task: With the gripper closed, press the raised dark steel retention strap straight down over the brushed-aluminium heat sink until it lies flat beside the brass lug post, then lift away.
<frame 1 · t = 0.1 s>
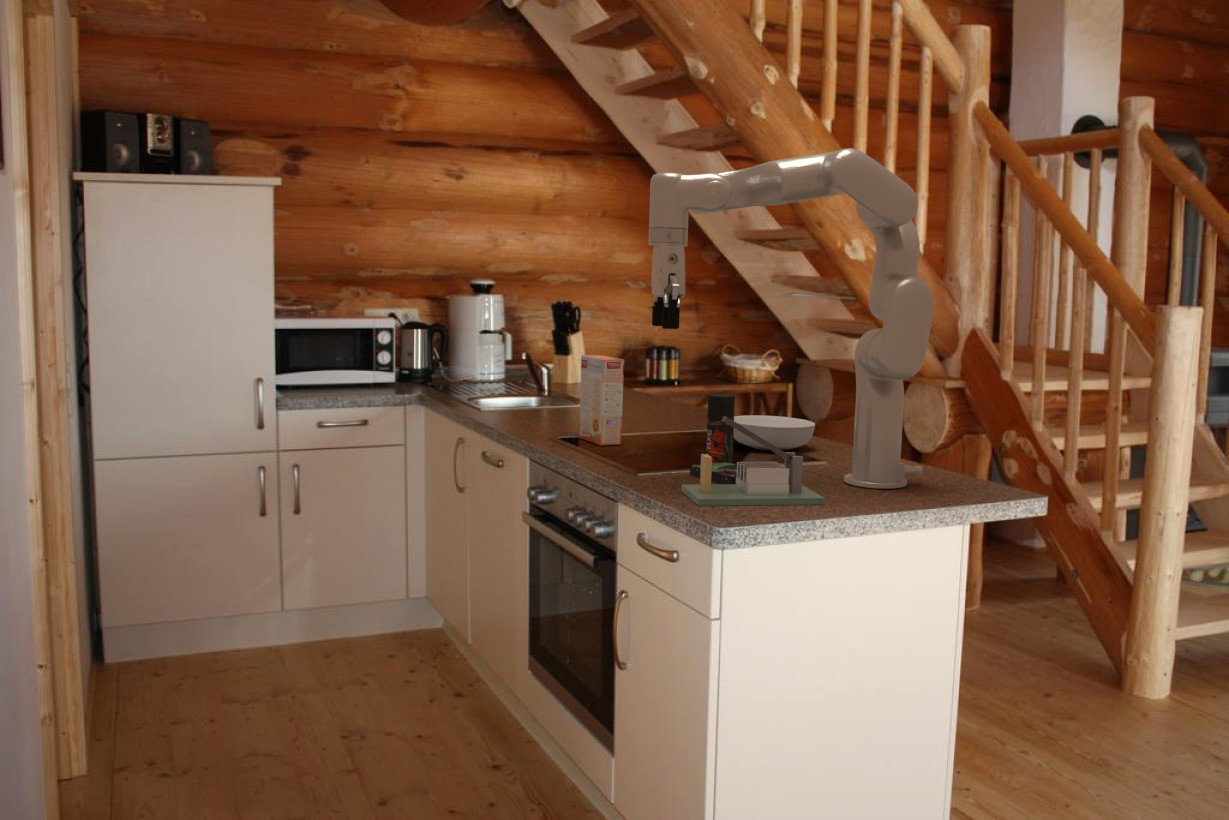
hand: (665, 327, 227), 31 cm above the worktop, fingers open, 9 cm apart
deodorant: (719, 463, 260), on the worktop
serving bowl: (770, 449, 283), on the worktop
disk drive: (729, 482, 240), on the worktop
board: (751, 497, 221), on the worktop
strap: (761, 441, 220), point 11 cm above the worktop, hinge at 30.0°
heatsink: (761, 497, 221), resting on board
cracker box: (600, 442, 285), on the worktop
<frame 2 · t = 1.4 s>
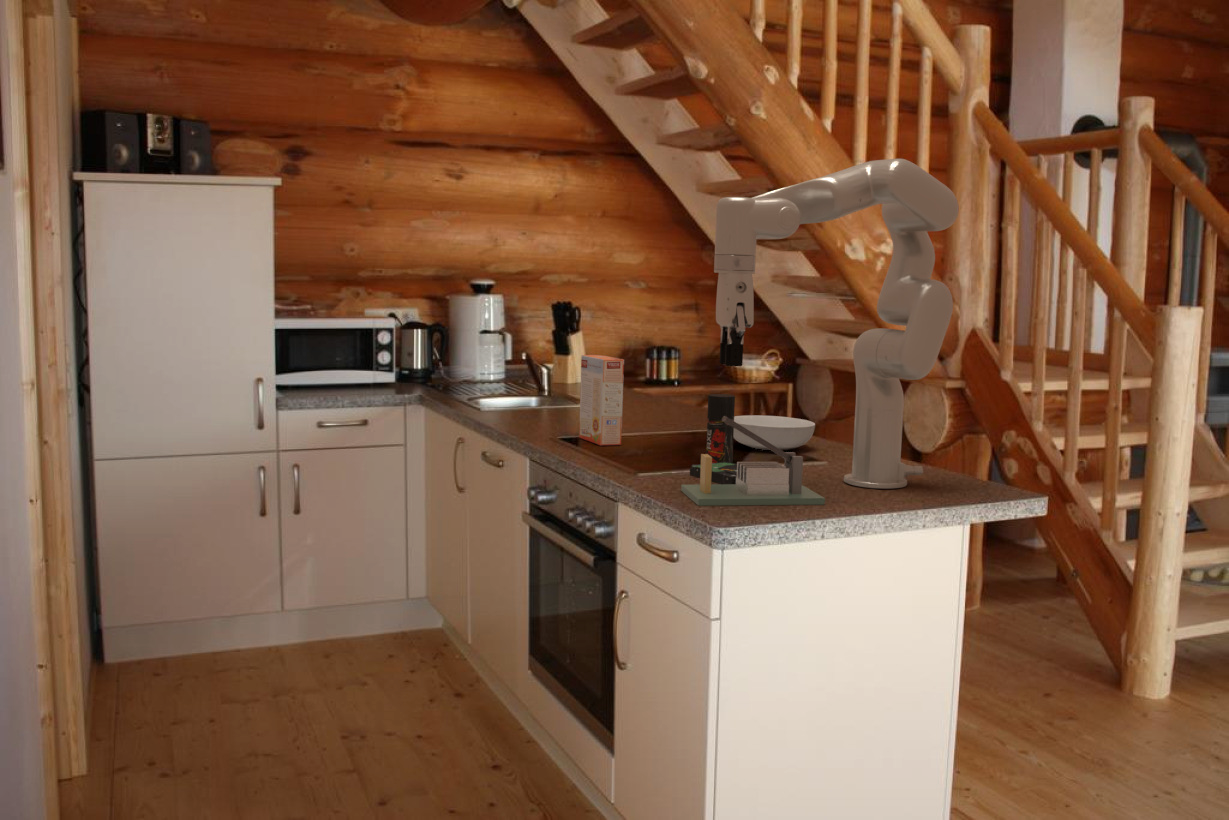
hand: (730, 364, 217), 25 cm above the worktop, fingers open, 3 cm apart
nothing on the worktop moved.
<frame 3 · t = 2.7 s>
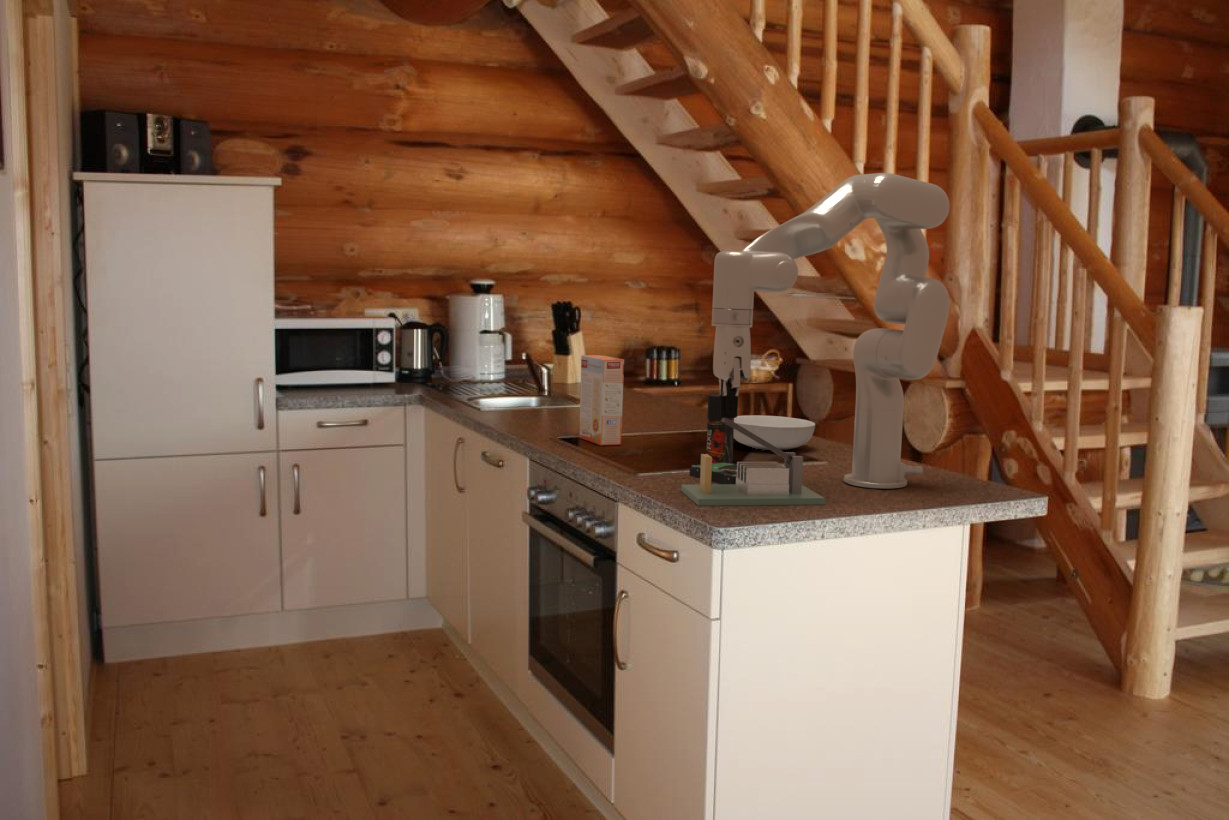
hand: (727, 416, 218), 15 cm above the worktop, fingers closed
strap: (760, 441, 220), point 11 cm above the worktop, hinge at 29.5°, touching gripper
everything else where it was.
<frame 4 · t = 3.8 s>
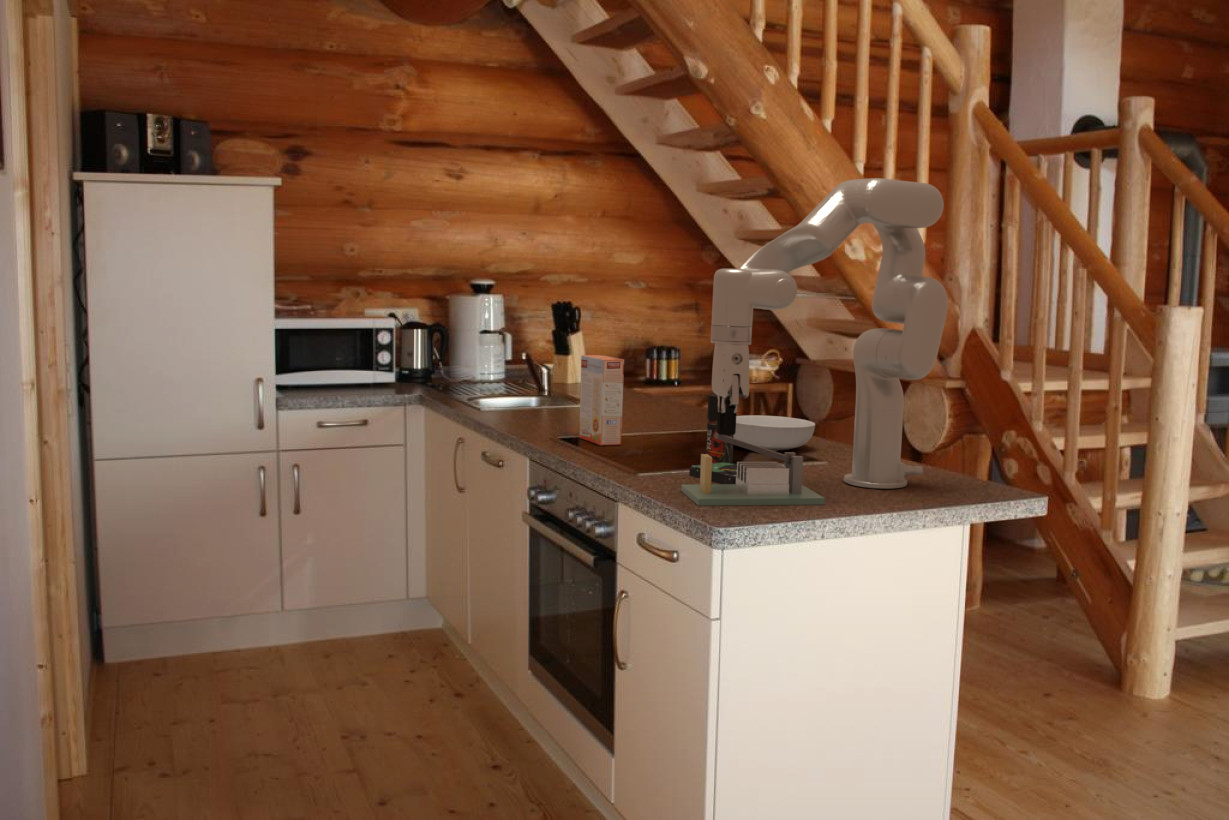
hand: (725, 433, 218), 12 cm above the worktop, fingers closed
strap: (757, 449, 220), point 9 cm above the worktop, hinge at 17.4°, touching gripper
everything else where it was.
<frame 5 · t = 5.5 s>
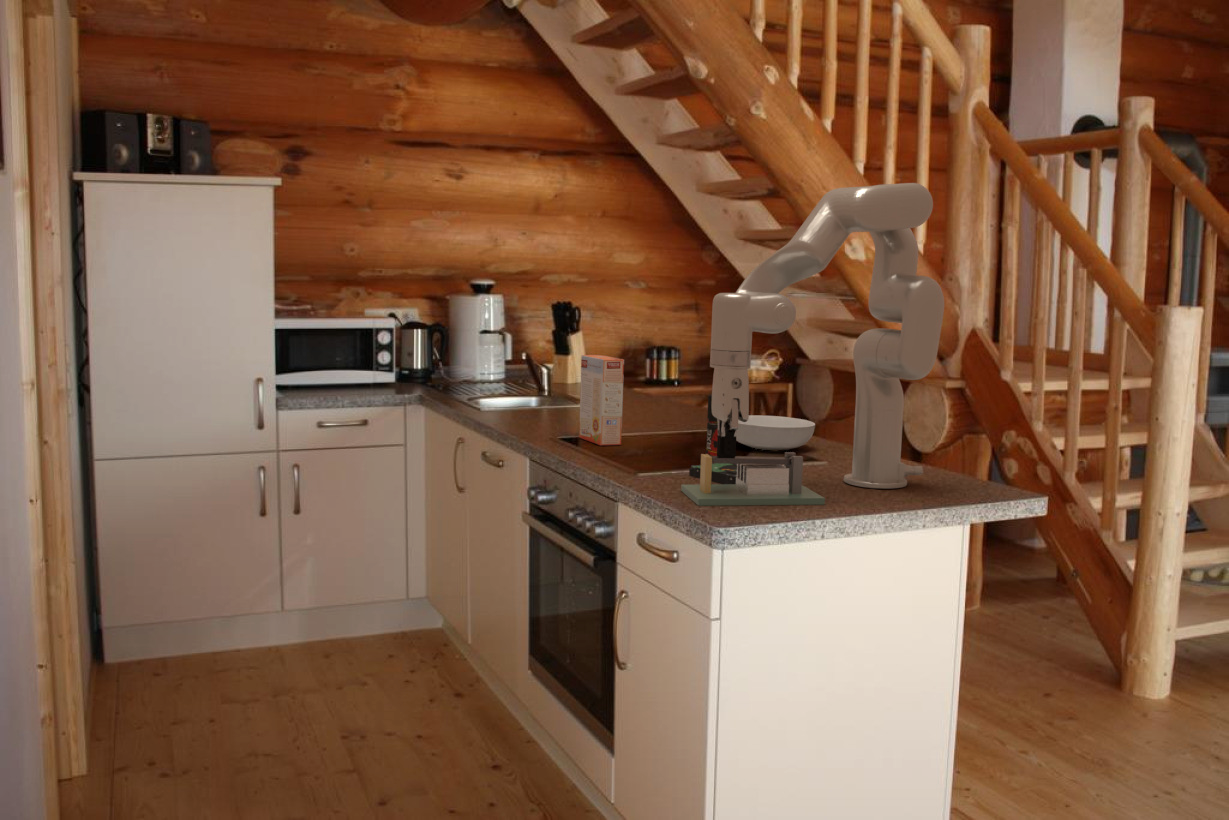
hand: (726, 457, 219), 8 cm above the worktop, fingers closed
strap: (755, 460, 220), point 7 cm above the worktop, hinge at 1.0°, touching gripper
everything else where it was.
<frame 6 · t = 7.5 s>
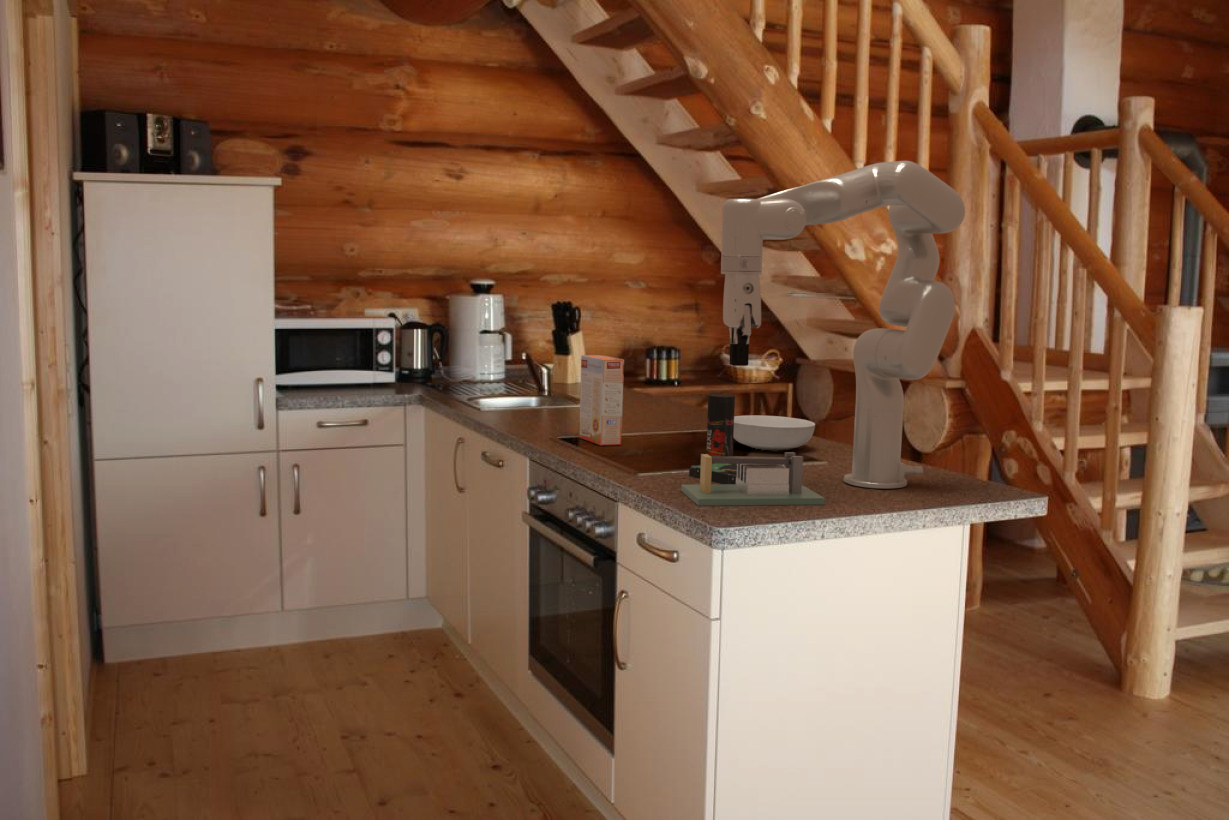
hand: (738, 365, 219), 25 cm above the worktop, fingers closed
strap: (755, 460, 220), point 7 cm above the worktop, hinge at 0.9°
everything else where it was.
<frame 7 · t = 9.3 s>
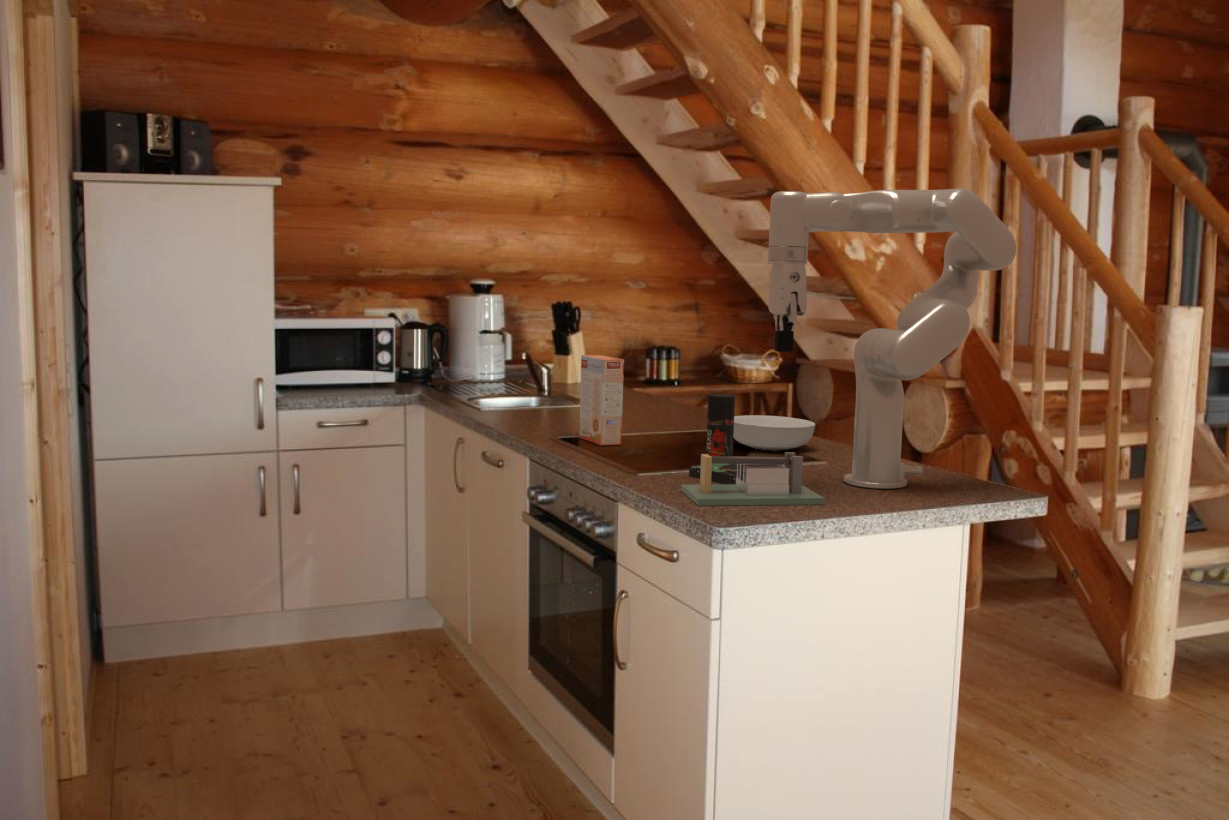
hand: (783, 351, 228), 27 cm above the worktop, fingers closed
nothing on the worktop moved.
at the end: strap at +1° (first picture: +30°) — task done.
